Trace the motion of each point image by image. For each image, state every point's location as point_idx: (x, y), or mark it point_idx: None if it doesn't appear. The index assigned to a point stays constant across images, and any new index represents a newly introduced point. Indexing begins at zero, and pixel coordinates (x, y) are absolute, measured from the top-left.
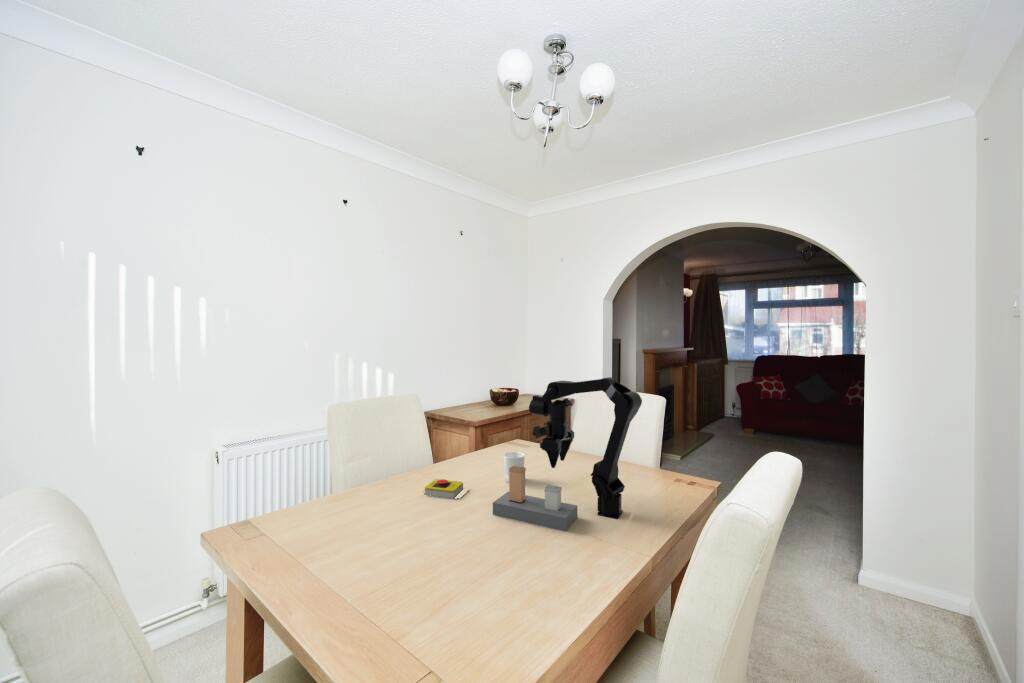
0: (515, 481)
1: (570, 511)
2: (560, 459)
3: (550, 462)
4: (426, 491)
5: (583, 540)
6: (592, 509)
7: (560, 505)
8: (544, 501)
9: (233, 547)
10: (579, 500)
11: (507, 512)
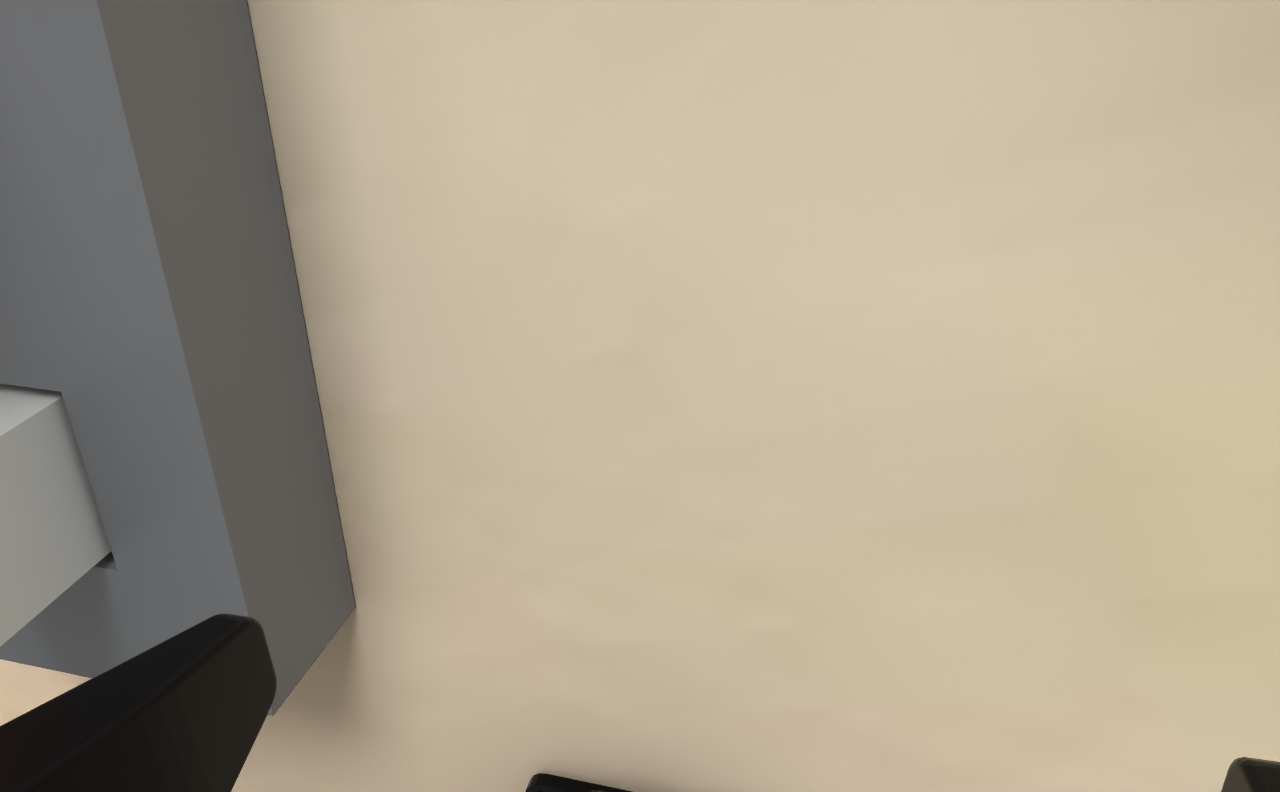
0: None
1: (87, 665)
2: (1250, 773)
3: (41, 723)
4: None
5: (39, 687)
6: (665, 721)
7: (68, 572)
8: (92, 317)
9: None
10: (888, 566)
11: None
